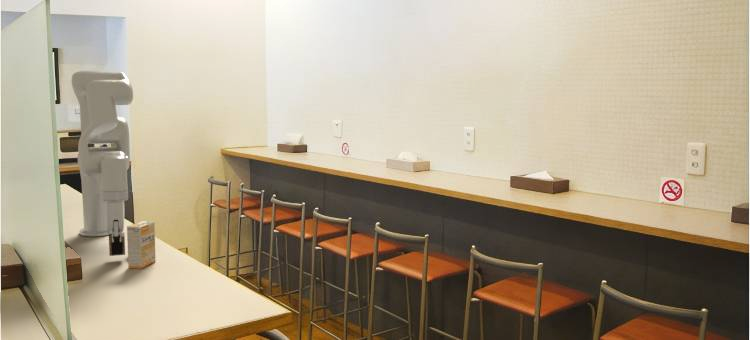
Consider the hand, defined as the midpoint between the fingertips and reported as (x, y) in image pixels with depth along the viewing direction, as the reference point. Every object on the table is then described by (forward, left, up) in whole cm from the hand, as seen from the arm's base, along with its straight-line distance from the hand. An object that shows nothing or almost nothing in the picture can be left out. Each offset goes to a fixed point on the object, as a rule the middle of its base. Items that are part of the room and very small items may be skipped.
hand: (117, 251), depth 202 cm
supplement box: (+7, +7, -3) cm, 10 cm away
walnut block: (0, 0, -1) cm, 1 cm away
